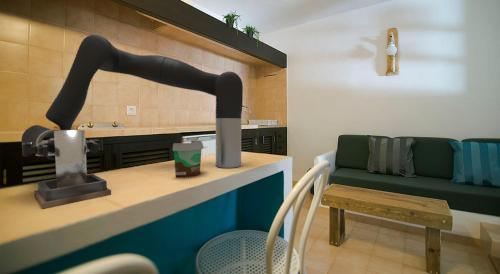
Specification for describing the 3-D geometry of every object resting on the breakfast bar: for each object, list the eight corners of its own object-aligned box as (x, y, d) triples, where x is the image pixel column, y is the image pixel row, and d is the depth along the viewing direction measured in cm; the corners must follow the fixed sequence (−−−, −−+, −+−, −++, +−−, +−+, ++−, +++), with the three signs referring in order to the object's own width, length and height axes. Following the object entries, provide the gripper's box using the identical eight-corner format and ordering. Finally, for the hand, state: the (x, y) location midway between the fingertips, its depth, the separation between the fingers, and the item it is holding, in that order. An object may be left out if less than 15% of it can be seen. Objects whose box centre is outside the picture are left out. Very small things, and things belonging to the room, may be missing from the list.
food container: (193, 180, 63) (192, 144, 62) (172, 178, 64) (172, 143, 64) (209, 170, 75) (209, 140, 74) (192, 169, 76) (192, 139, 76)
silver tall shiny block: (72, 186, 52) (69, 129, 52) (93, 187, 52) (90, 130, 51) (50, 193, 47) (46, 130, 46) (73, 194, 47) (70, 131, 46)
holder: (95, 184, 58) (94, 173, 57) (111, 194, 50) (110, 180, 50) (34, 195, 49) (33, 181, 49) (42, 208, 42) (41, 192, 42)
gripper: (16, 130, 53) (24, 132, 43) (89, 128, 64) (109, 130, 54) (18, 161, 54) (26, 172, 43) (90, 155, 65) (110, 162, 54)
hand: (72, 149), depth 48 cm, fingers open, 8 cm apart
